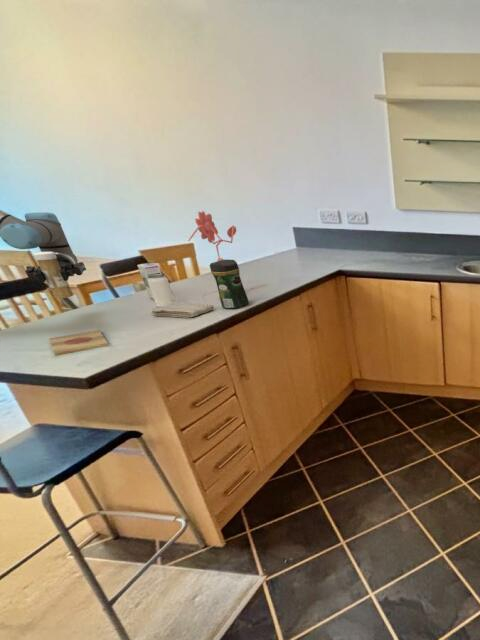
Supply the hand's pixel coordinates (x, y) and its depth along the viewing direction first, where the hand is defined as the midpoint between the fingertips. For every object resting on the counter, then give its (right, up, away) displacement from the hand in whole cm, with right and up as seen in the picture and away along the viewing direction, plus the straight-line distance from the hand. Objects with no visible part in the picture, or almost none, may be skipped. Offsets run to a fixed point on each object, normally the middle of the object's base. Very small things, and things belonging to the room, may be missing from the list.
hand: (52, 277), depth 123 cm
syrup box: (-16, +5, +57) cm, 60 cm away
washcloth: (+9, -4, +39) cm, 40 cm away
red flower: (+7, +8, +64) cm, 65 cm away
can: (-5, 0, +47) cm, 48 cm away
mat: (-1, -19, +9) cm, 21 cm away
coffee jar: (+23, 0, +48) cm, 53 cm away
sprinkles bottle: (-4, -5, +7) cm, 9 cm away
